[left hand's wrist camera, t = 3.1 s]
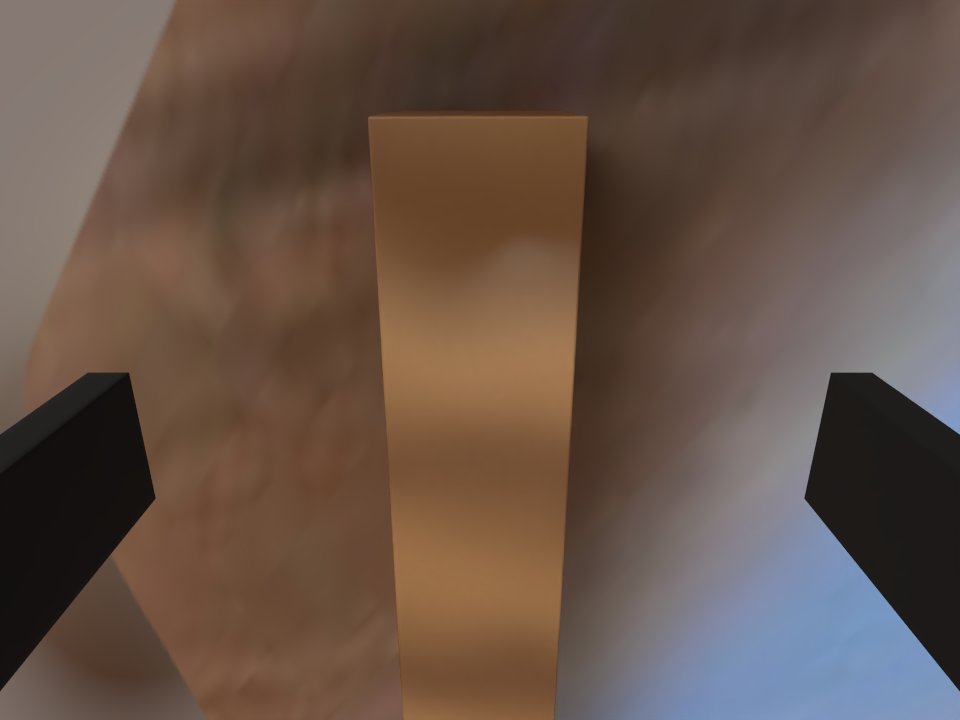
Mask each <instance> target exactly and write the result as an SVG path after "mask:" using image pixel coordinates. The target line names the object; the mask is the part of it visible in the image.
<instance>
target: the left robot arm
mask: <svg viewBox="0 0 960 720" xmlns="http://www.w3.org/2000/svg"><path fill="white" fill-rule="evenodd" d="M154 500H155V493H154V489H153V484H152V479H151V475H150V470H149V465H148V460H147V456H146V451H145V446H144V442H143V437H142V432H141V427H140V423H139V418H138V413H137V409H136V404H135V399H134V394H133V390H132V385H131V380H130V376H129V373H87V374H85V375H84V376H83V377H81V378H80V379H78V380H77V381H76V382H74V383H73V384H71V385H70V386H68V387H67V388H66V389H64V390H63V391H61V392H60V393H59V394H57V395H56V396H54V397H53V398H51V399H50V400H49V401H47V402H46V403H44V404H43V405H42V406H40V407H39V408H37V409H36V410H34V411H33V412H32V413H30V414H29V415H27V416H26V417H25V418H23V419H22V420H20V421H19V422H18V423H16V424H15V425H13V426H12V427H10V428H9V429H8V430H6V431H5V432H3V433H2V434H1V435H0V691H1V690H2V688H3V687H4V686H5V685H6V683H7V682H8V681H9V680H10V678H11V677H12V676H13V675H14V673H15V672H16V671H17V670H18V668H19V667H20V666H21V665H22V664H23V662H24V661H25V660H26V658H27V657H28V656H29V655H30V654H31V652H32V651H33V650H34V649H35V647H36V646H37V645H38V644H39V642H40V641H41V640H42V639H43V637H44V636H45V635H46V634H47V632H48V631H49V630H50V629H51V628H52V626H53V625H54V624H55V623H56V621H57V620H58V619H59V618H60V616H61V615H62V614H63V613H64V611H65V610H66V609H67V608H68V606H69V605H70V604H71V603H72V601H73V600H74V599H75V598H76V597H77V595H78V594H79V593H80V592H81V590H82V589H83V588H84V587H85V585H86V584H87V583H88V582H89V580H90V579H91V578H92V577H93V575H94V574H95V573H96V572H97V570H98V569H99V568H100V567H101V566H102V564H103V563H104V562H105V561H106V559H107V558H108V557H109V556H110V554H111V553H112V552H113V551H114V549H115V548H116V547H117V546H118V544H119V543H120V542H121V541H122V539H123V538H124V537H125V536H126V534H127V533H128V532H129V531H130V530H131V528H132V527H133V526H134V525H135V523H136V522H137V521H138V520H139V518H140V517H141V516H142V515H143V513H144V512H145V511H146V510H147V508H148V507H149V506H150V505H151V503H152V502H153V501H154ZM805 500H806V501H807V502H808V503H809V505H810V506H811V507H812V508H813V510H814V511H815V512H816V513H817V515H818V516H819V517H820V518H821V520H822V521H823V522H824V523H825V525H826V526H827V527H828V528H829V530H830V531H831V532H832V533H833V534H834V536H835V537H836V538H837V539H838V541H839V542H840V543H841V544H842V546H843V547H844V548H845V549H846V551H847V552H848V553H849V554H850V556H851V557H852V558H853V559H854V561H855V562H856V563H857V564H858V566H859V567H860V568H861V569H862V570H863V572H864V573H865V574H866V575H867V577H868V578H869V579H870V580H871V582H872V583H873V584H874V585H875V587H876V588H877V589H878V590H879V592H880V593H881V594H882V595H883V597H884V598H885V599H886V600H887V601H888V603H889V604H890V605H891V606H892V608H893V609H894V610H895V611H896V613H897V614H898V615H899V616H900V618H901V619H902V620H903V621H904V623H905V624H906V625H907V626H908V628H909V629H910V630H911V631H912V633H913V634H914V635H915V636H916V637H917V639H918V640H919V641H920V642H921V644H922V645H923V646H924V647H925V649H926V650H927V651H928V652H929V654H930V655H931V656H932V657H933V659H934V660H935V661H936V662H937V664H938V665H939V666H940V667H941V669H942V670H943V671H944V672H945V673H946V675H947V676H948V677H949V678H950V680H951V681H952V682H953V683H954V685H955V686H956V687H957V688H958V690H959V691H960V435H959V434H958V433H957V432H955V431H954V430H952V429H951V428H950V427H948V426H947V425H945V424H944V423H943V422H941V421H940V420H938V419H937V418H935V417H934V416H933V415H931V414H930V413H928V412H927V411H926V410H924V409H923V408H921V407H920V406H918V405H917V404H916V403H914V402H913V401H911V400H910V399H909V398H907V397H906V396H904V395H903V394H901V393H900V392H899V391H897V390H896V389H894V388H893V387H892V386H890V385H889V384H887V383H886V382H884V381H883V380H882V379H880V378H879V377H877V376H876V375H875V374H873V373H831V376H830V380H829V385H828V390H827V394H826V399H825V404H824V409H823V413H822V418H821V423H820V427H819V432H818V437H817V442H816V446H815V451H814V456H813V460H812V465H811V470H810V475H809V479H808V484H807V489H806V493H805Z"/></svg>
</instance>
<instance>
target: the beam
mask: <svg viewBox="0 0 960 720" xmlns="http://www.w3.org/2000/svg"><path fill="white" fill-rule="evenodd" d="M588 126H589V118H588V117H587V116H584V115H578V114H573V113H568V112H563V111H557V110H400V111H395V112H389V113H384V114H379V115H373V116H369V117H368V129H369V146H370V163H371V181H372V198H373V215H374V232H375V249H376V266H377V283H378V300H379V317H380V334H381V351H382V368H383V385H384V402H385V419H386V436H387V453H388V470H389V487H390V504H391V521H392V538H393V555H394V572H395V589H396V606H397V623H398V640H399V657H400V674H401V691H402V709H403V720H555V705H556V687H557V669H558V652H559V634H560V617H561V599H562V582H563V564H564V547H565V529H566V512H567V494H568V477H569V459H570V441H571V424H572V406H573V389H574V371H575V354H576V336H577V319H578V301H579V284H580V266H581V249H582V231H583V213H584V196H585V178H586V161H587V143H588Z"/></svg>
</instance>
